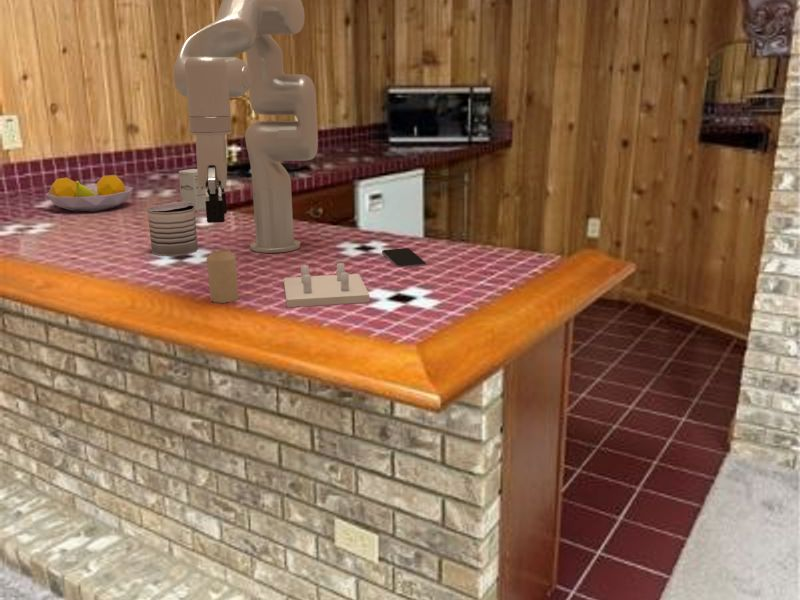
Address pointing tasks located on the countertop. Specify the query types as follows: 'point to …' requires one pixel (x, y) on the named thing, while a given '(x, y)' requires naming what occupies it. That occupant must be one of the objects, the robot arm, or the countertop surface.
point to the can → (173, 229)
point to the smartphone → (403, 257)
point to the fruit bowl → (89, 194)
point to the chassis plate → (325, 288)
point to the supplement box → (192, 189)
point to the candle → (222, 276)
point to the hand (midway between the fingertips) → (217, 217)
